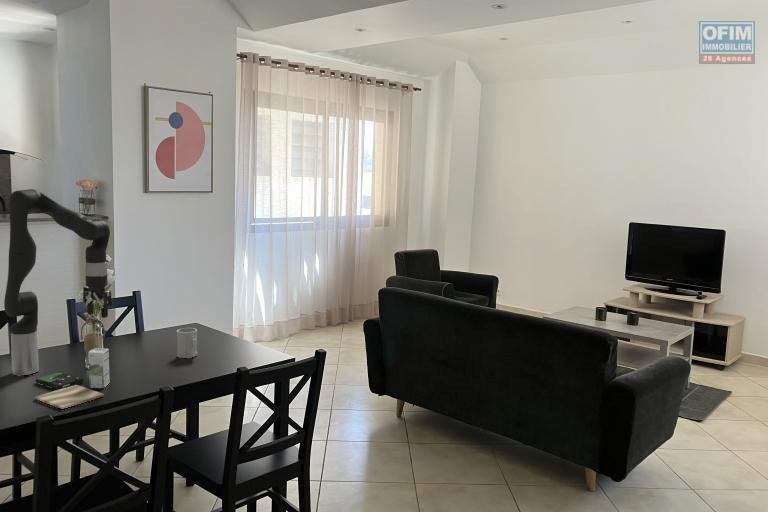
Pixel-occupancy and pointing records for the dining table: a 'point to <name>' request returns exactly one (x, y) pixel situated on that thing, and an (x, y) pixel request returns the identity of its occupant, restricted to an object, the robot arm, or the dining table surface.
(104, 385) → the syrup box
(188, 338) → the cup
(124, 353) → the dining table surface
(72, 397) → the birch board
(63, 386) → the disk drive
